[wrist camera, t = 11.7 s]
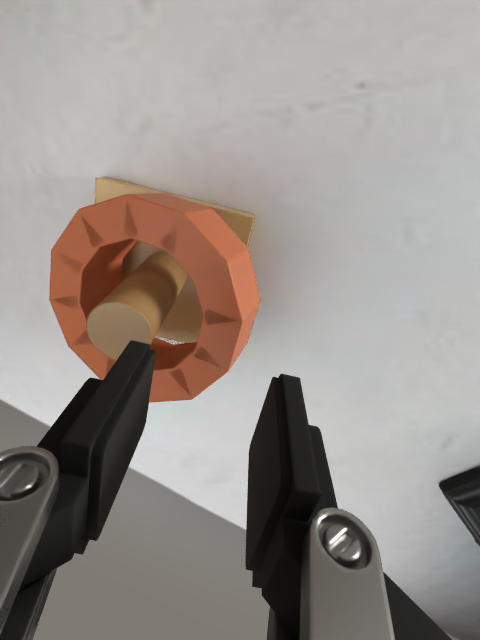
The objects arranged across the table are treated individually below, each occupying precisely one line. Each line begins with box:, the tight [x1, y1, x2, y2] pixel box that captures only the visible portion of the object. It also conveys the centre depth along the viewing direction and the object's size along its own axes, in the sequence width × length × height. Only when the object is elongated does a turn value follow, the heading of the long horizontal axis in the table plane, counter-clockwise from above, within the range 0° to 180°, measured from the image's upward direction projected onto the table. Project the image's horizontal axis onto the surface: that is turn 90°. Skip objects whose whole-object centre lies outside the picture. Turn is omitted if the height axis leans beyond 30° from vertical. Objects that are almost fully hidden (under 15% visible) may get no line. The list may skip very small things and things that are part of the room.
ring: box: [49, 193, 261, 402], centre depth 16 cm, size 9×9×3 cm
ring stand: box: [86, 177, 255, 359], centre depth 16 cm, size 8×8×8 cm
